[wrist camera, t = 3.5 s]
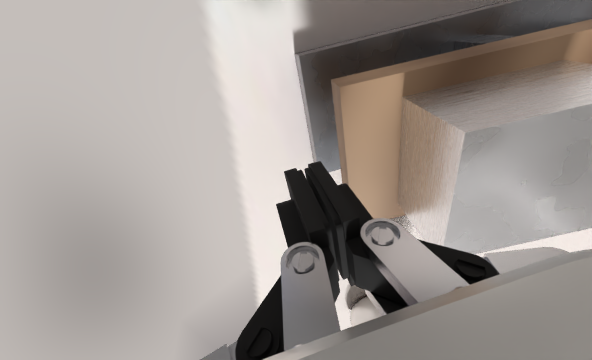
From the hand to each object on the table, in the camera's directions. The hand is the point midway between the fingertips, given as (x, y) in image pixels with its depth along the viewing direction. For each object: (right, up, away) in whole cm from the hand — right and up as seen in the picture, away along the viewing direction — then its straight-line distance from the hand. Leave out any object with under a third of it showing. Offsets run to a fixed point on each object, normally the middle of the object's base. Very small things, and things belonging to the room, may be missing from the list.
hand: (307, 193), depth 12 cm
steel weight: (+8, +3, +1) cm, 8 cm away
